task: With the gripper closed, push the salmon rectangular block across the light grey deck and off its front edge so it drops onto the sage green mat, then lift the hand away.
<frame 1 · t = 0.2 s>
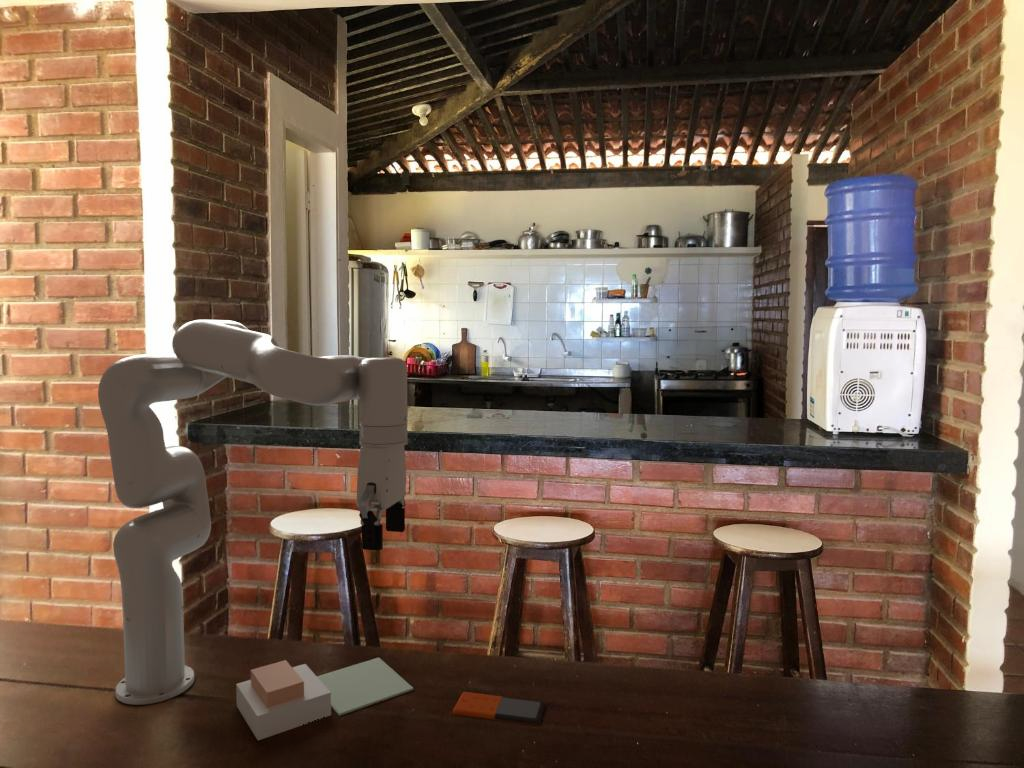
hand: (384, 539, 109), 31 cm above the table, tool pointing down, fingers open, 9 cm apart
mat: (360, 685, 123), on the table
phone: (499, 713, 116), on the table
salmon rectangular block: (277, 689, 114), point 4 cm above the table, touching deck
deck: (283, 710, 115), on the table
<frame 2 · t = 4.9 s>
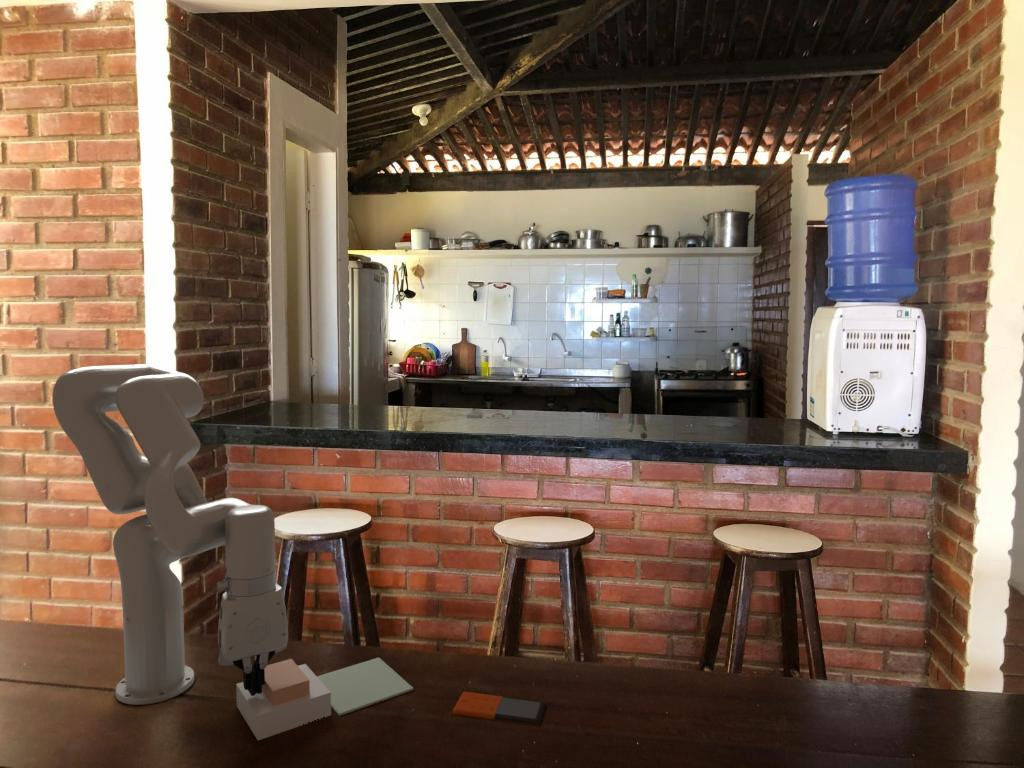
hand: (254, 690, 112), 5 cm above the table, tool pointing down, fingers closed
salmon rectangular block: (282, 688, 114), point 4 cm above the table, touching gripper
everything else where it was.
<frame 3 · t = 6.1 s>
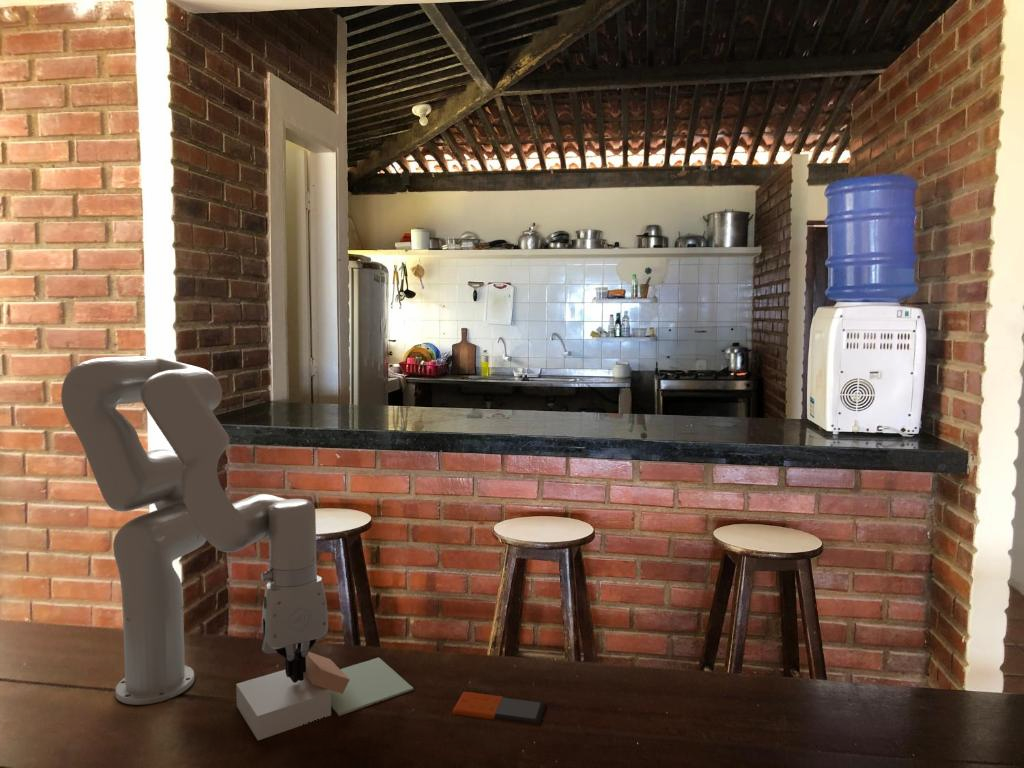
hand: (295, 678, 116), 5 cm above the table, tool pointing down, fingers closed
salmon rectangular block: (318, 678, 118), point 4 cm above the table, tilted 33°, touching deck
everything else where it was.
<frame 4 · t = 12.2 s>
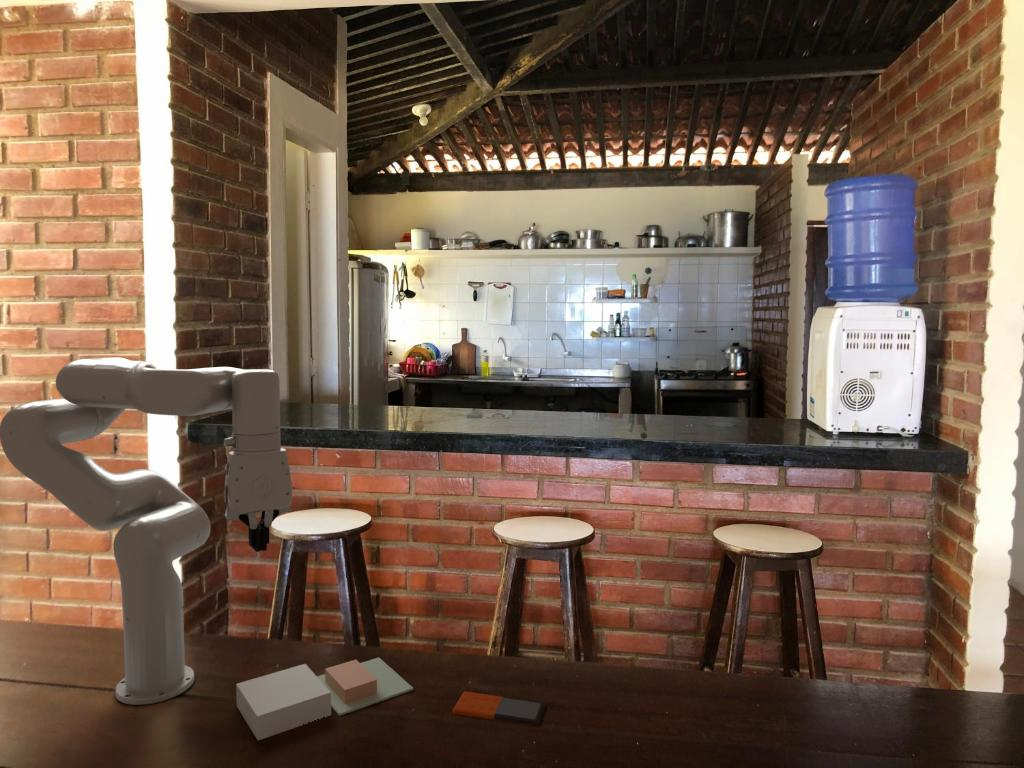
hand: (259, 549, 116), 27 cm above the table, tool pointing down, fingers closed
salmon rectangular block: (350, 674, 122), point 3 cm above the table, tilted 180°, touching mat
everything else where it was.
at the end: salmon rectangular block inside the target area (2.0 cm from its centre), point 2.9 cm above the table; salmon rectangular block touching mat; the gripper is holding nothing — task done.
